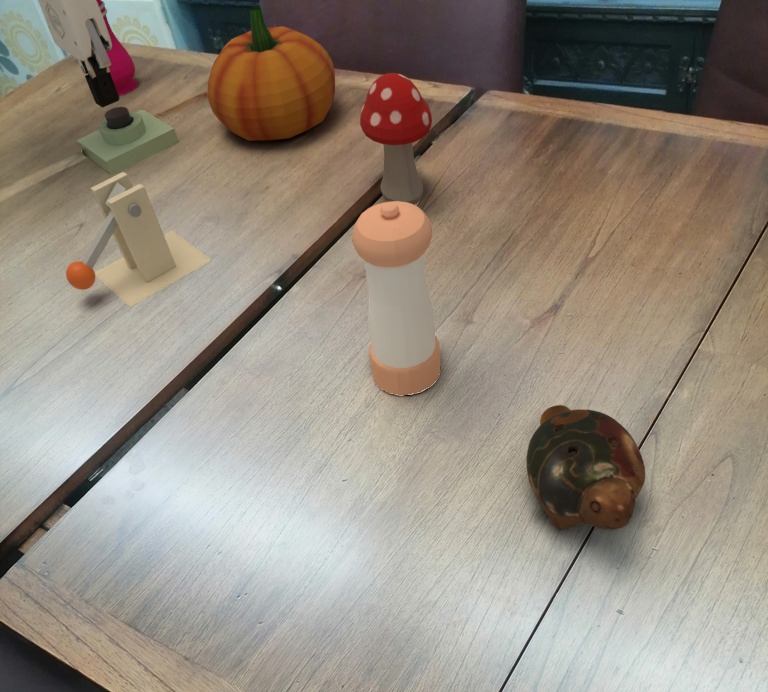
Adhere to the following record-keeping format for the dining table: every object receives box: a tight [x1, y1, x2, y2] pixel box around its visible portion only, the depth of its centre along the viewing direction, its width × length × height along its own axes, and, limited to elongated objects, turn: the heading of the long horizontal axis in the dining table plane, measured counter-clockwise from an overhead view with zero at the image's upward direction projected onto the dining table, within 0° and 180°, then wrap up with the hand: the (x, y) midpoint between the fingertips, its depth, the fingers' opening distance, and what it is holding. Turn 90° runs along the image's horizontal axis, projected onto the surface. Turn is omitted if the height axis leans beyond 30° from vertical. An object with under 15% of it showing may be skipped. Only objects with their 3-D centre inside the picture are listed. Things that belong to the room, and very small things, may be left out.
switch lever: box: [65, 183, 127, 291], centre depth 81 cm, size 13×3×3 cm
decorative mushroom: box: [359, 72, 433, 205], centre depth 87 cm, size 10×9×15 cm
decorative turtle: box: [525, 404, 646, 531], centre depth 60 cm, size 10×15×8 cm, turn 16°
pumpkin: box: [206, 5, 336, 142], centre depth 102 cm, size 19×19×15 cm
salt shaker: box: [351, 201, 442, 395], centre depth 66 cm, size 7×7×19 cm
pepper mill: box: [96, 0, 139, 96], centre depth 111 cm, size 7×7×20 cm
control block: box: [76, 108, 179, 176], centre depth 107 cm, size 12×10×4 cm
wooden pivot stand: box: [90, 171, 213, 308], centre depth 84 cm, size 12×10×12 cm
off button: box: [104, 106, 132, 129], centre depth 105 cm, size 4×4×2 cm
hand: (108, 102), depth 103 cm, fingers closed
